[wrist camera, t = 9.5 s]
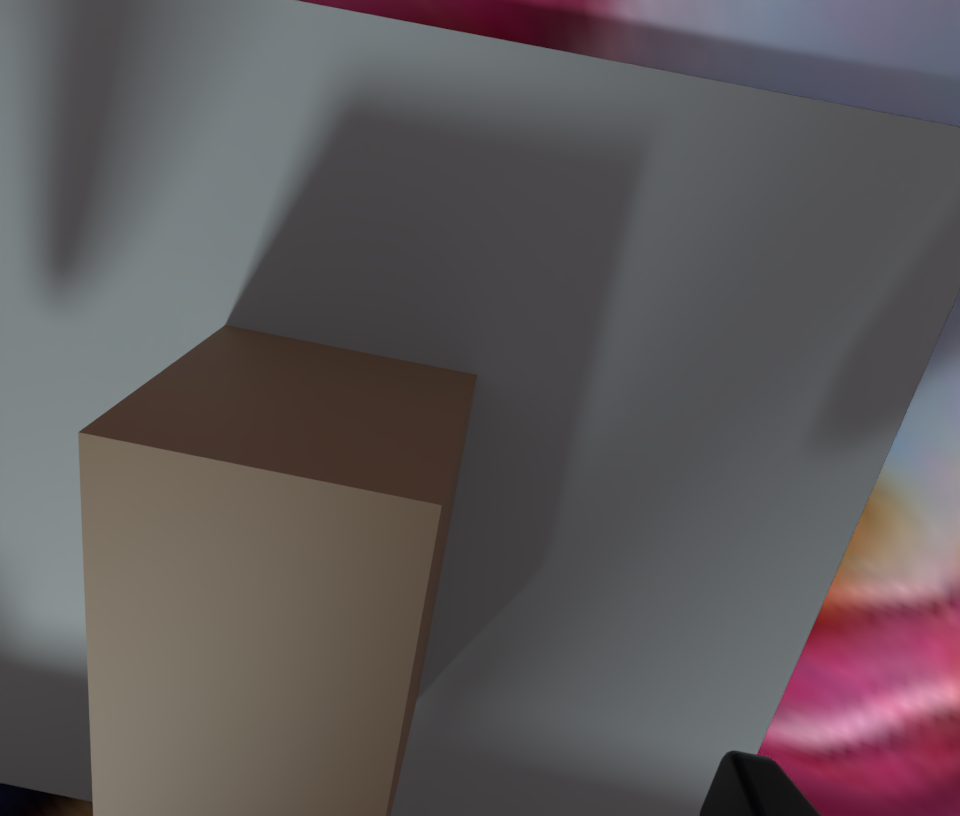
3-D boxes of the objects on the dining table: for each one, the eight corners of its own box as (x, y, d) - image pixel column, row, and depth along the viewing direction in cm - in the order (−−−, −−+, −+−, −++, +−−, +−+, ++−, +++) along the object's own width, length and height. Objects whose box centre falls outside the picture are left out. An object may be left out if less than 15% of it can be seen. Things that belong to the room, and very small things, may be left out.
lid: (673, 866, 13) (718, 1169, 9) (-43, 717, 13) (-270, 958, 10) (973, 133, 8) (1299, 172, 5) (-148, -82, 9) (-674, -203, 5)
